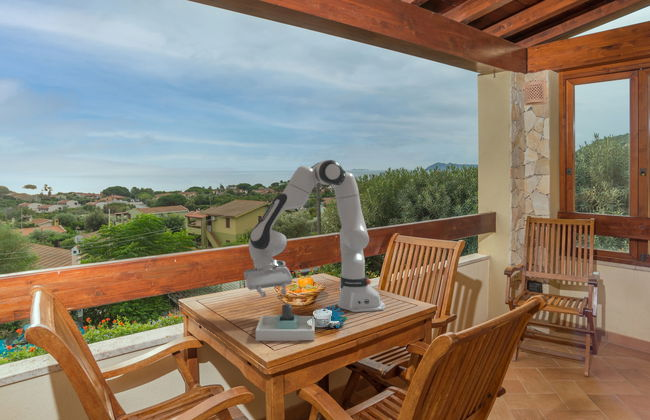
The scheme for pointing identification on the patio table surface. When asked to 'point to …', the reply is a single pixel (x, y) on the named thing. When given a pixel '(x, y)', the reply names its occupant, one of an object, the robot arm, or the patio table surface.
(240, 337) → the patio table surface
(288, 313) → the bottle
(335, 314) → the gear
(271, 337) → the walled box
